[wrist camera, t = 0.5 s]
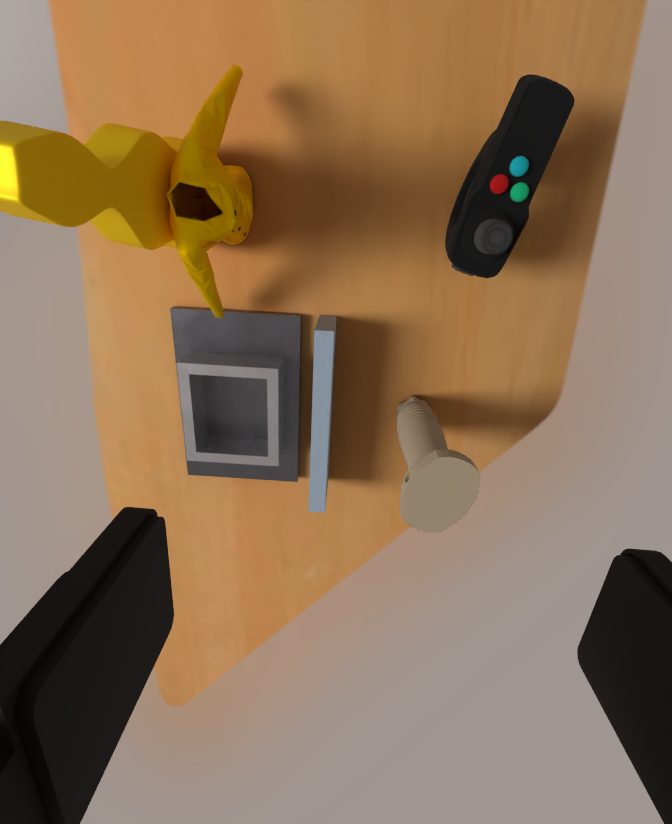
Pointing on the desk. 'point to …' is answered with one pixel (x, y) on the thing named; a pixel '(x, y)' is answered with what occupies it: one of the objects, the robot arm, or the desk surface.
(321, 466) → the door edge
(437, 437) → the handle
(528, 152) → the controller
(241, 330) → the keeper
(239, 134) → the desk surface
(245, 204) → the figure statuette
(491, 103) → the desk surface
